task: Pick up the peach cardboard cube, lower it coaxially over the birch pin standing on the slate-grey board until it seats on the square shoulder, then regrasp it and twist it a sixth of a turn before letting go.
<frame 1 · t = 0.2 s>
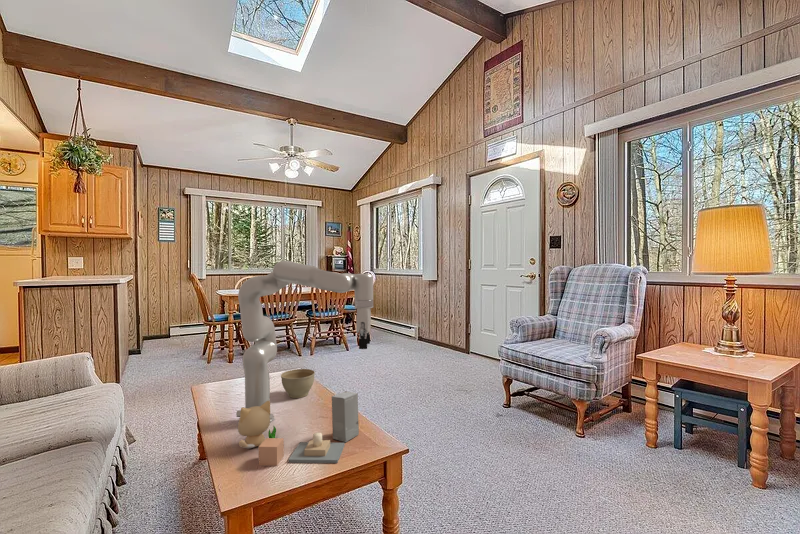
hand: (364, 346, 153), 31 cm above the table, tool pointing down, fingers open, 9 cm apart
skincare box: (345, 437, 141), on the table
peach cardboard cube: (271, 460, 124), on the table
kitten: (256, 445, 136), on the table
post board: (317, 453, 128), on the table
planter bowl: (298, 395, 187), on the table
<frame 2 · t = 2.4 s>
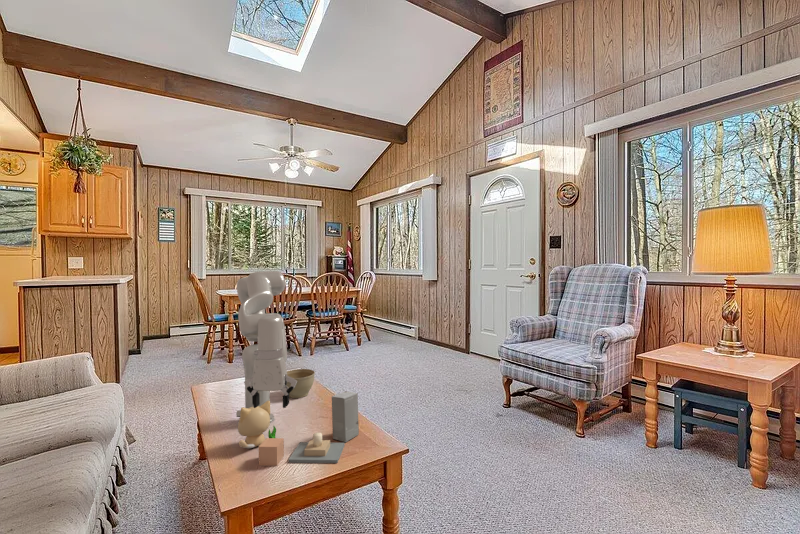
hand: (271, 406, 124), 18 cm above the table, tool pointing down, fingers open, 9 cm apart
nothing on the table moved.
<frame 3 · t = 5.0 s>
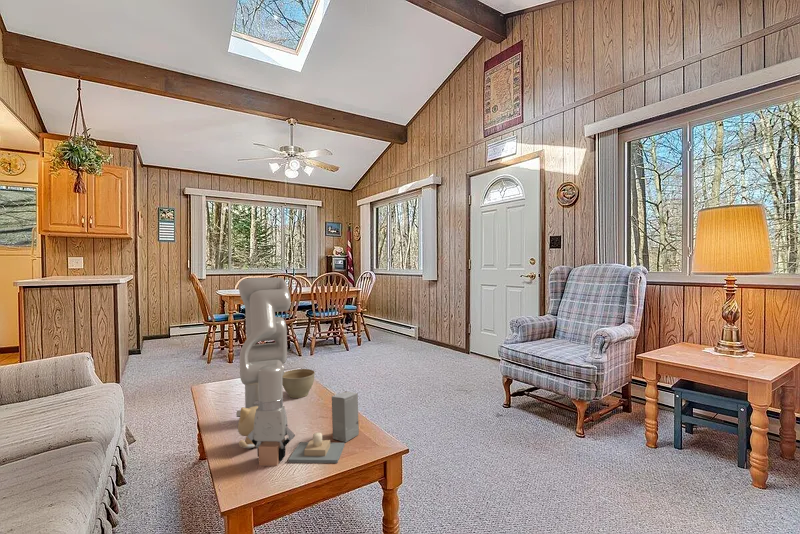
hand: (271, 458, 124), 1 cm above the table, tool pointing down, fingers closed on peach cardboard cube, 6 cm apart
peach cardboard cube: (271, 460, 124), on the table, touching gripper
everything else where it was.
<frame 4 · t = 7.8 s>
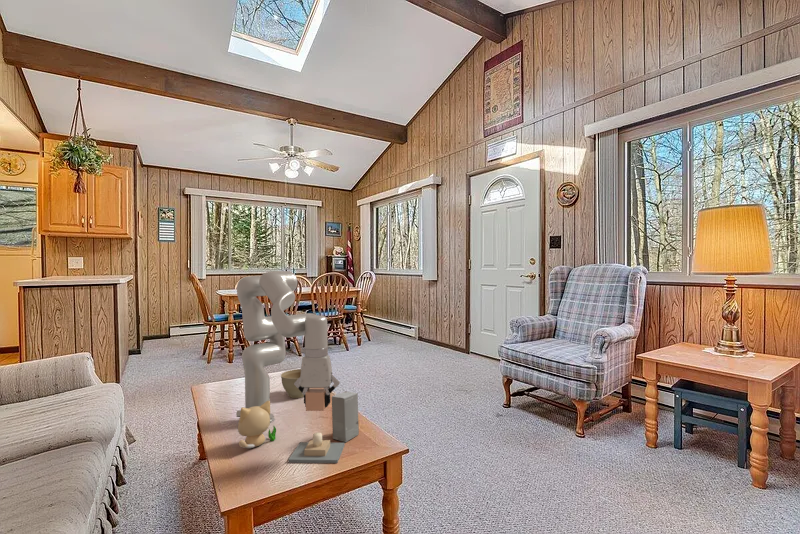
hand: (317, 405, 128), 17 cm above the table, tool pointing down, fingers closed on peach cardboard cube, 6 cm apart
peach cardboard cube: (317, 407, 128), point 16 cm above the table, touching gripper
everything else where it was.
when the fingers open (5 cm above the table, at t = 11.1 s): peach cardboard cube drops 1 cm, resting on post board.
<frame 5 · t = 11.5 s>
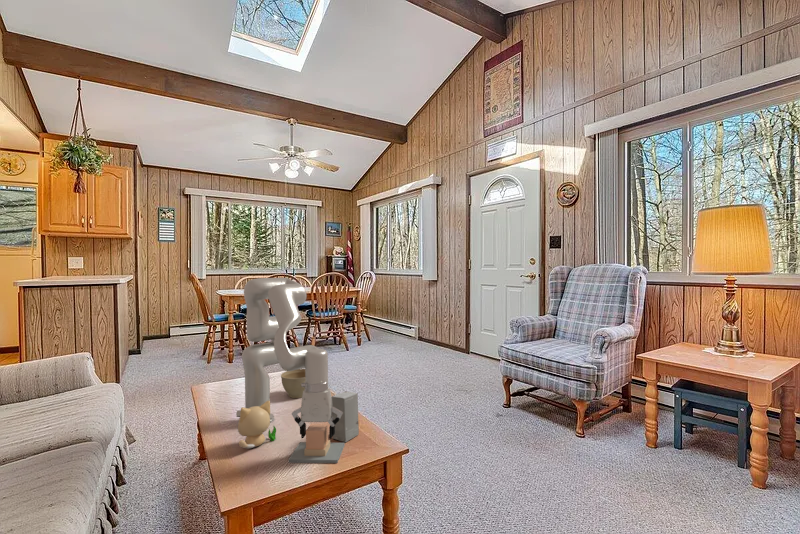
hand: (317, 436, 128), 6 cm above the table, tool pointing down, fingers open, 9 cm apart
peach cardboard cube: (317, 444, 128), point 3 cm above the table, touching post board
everything else where it was.
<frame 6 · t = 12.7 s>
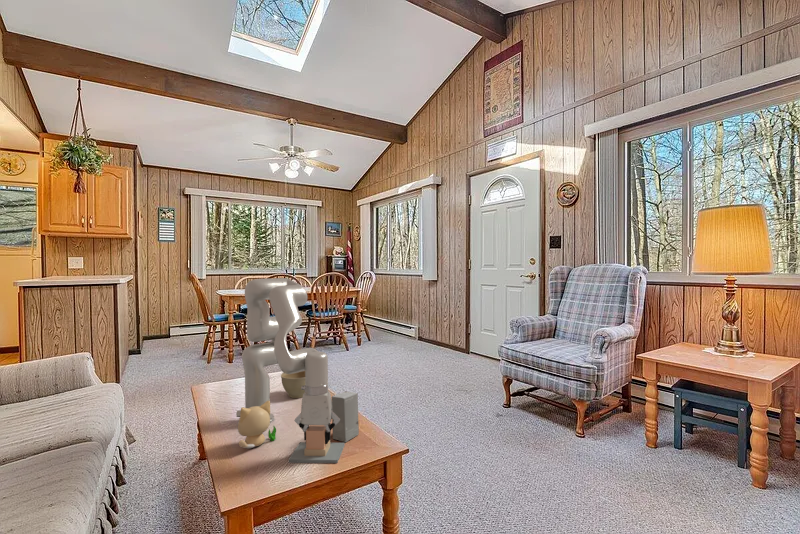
hand: (317, 441, 128), 4 cm above the table, tool pointing down, fingers closed on peach cardboard cube, 6 cm apart
peach cardboard cube: (317, 444, 128), point 3 cm above the table, touching gripper, post board
everything else where it was.
when the fingers open (4 cm above the table, at t = 14.8 s): peach cardboard cube stays where it is, resting on post board.
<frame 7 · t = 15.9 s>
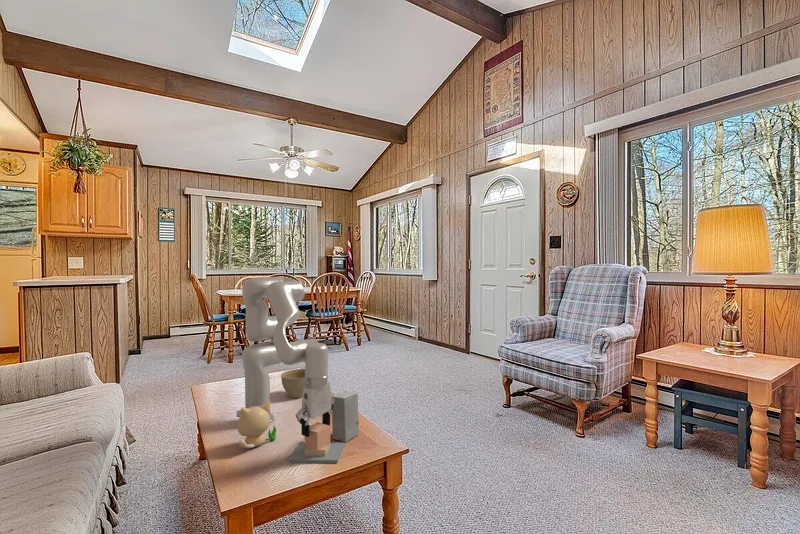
hand: (316, 430, 129), 8 cm above the table, tool pointing down, fingers open, 9 cm apart
peach cardboard cube: (317, 444, 128), point 3 cm above the table, touching post board
everything else where it was.
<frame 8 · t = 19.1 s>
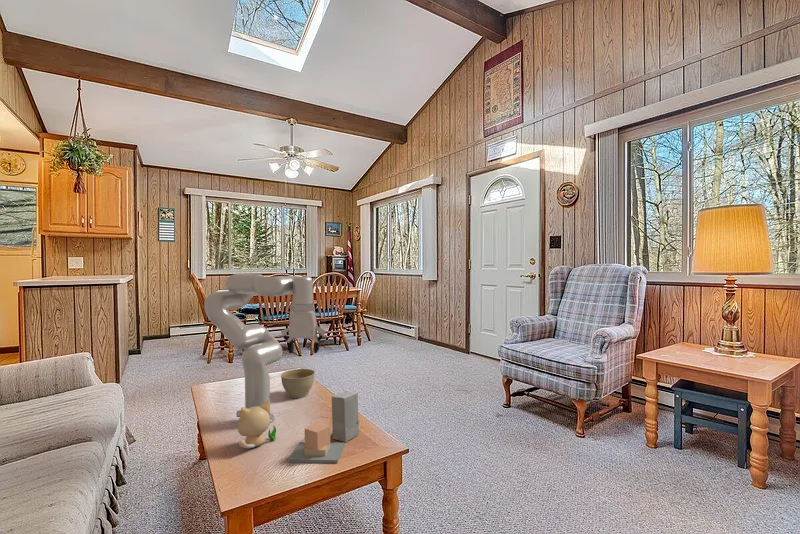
hand: (303, 352, 147), 30 cm above the table, tool pointing down, fingers open, 9 cm apart
nothing on the table moved.
at the end: peach cardboard cube 0.0 cm off-centre on the post board, point 3.0 cm above the post board's base; peach cardboard cube tilted 0°; the gripper is holding nothing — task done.
